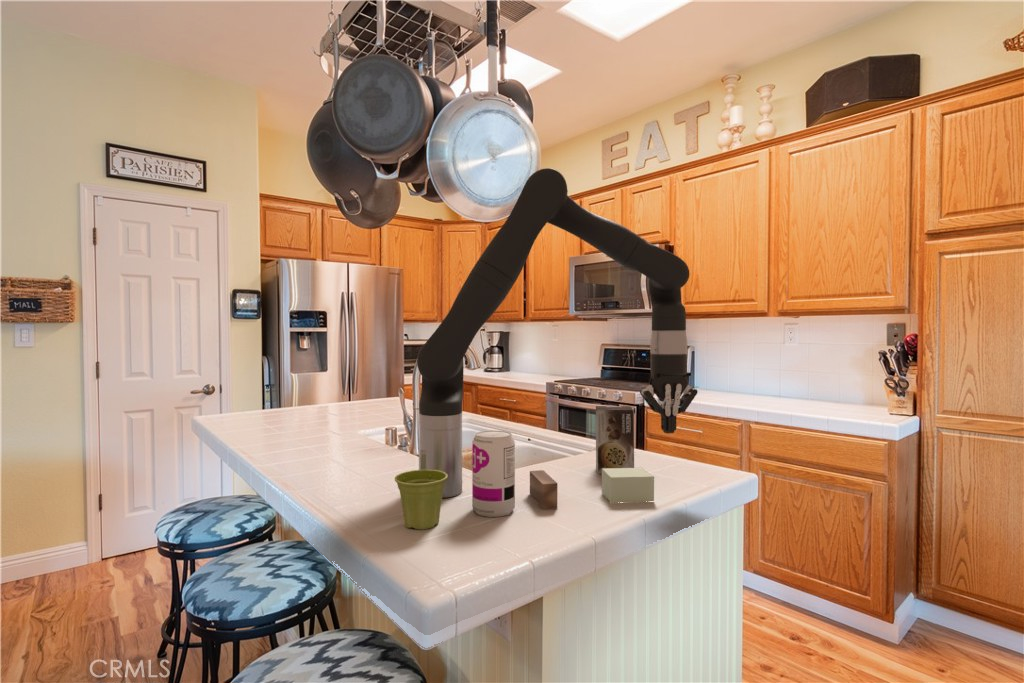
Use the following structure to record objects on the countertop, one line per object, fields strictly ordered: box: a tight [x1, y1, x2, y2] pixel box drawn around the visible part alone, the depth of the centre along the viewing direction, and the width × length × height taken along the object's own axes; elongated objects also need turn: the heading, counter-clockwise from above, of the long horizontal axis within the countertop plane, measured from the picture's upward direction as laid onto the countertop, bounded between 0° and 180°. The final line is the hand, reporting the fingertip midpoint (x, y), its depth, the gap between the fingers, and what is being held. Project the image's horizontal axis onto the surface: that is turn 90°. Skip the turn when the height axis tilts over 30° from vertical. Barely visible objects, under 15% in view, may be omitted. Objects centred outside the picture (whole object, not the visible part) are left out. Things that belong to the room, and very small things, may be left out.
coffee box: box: [595, 405, 635, 475], centre depth 129 cm, size 9×6×16 cm
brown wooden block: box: [529, 469, 558, 510], centre depth 105 cm, size 3×10×5 cm, turn 13°
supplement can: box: [471, 429, 516, 518], centre depth 99 cm, size 8×8×15 cm
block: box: [601, 467, 655, 504], centre depth 108 cm, size 9×7×6 cm
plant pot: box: [394, 469, 448, 530], centre depth 93 cm, size 9×9×9 cm
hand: (668, 432), depth 110 cm, fingers closed
